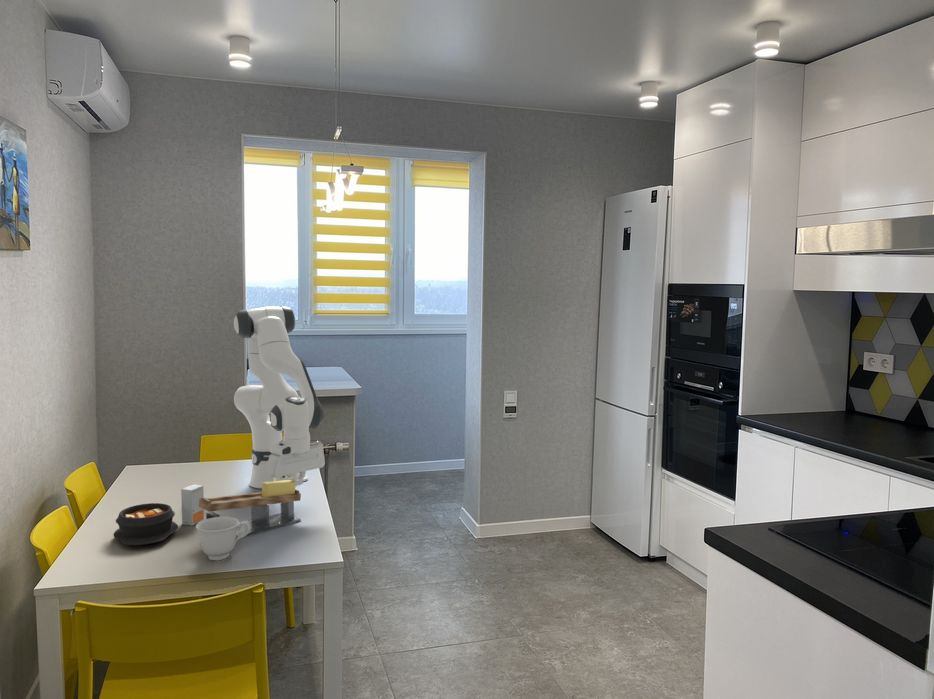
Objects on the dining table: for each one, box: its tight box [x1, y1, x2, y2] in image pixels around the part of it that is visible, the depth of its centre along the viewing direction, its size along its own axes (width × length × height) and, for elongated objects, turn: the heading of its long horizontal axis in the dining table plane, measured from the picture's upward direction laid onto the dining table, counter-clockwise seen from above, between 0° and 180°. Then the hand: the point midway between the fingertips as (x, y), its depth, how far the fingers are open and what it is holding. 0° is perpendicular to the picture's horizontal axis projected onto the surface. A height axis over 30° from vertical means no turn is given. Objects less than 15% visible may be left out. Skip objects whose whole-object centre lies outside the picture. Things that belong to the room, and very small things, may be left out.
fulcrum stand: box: [205, 501, 302, 538], centre depth 232 cm, size 30×10×8 cm, turn 135°
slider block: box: [261, 480, 296, 497], centre depth 238 cm, size 10×4×4 cm, turn 135°
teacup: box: [195, 516, 250, 561], centre depth 209 cm, size 12×15×10 cm
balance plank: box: [199, 488, 302, 512], centre depth 231 cm, size 32×7×3 cm, turn 135°
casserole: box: [113, 502, 179, 546], centre depth 225 cm, size 25×19×8 cm
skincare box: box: [180, 484, 205, 526], centre depth 237 cm, size 6×4×12 cm
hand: (297, 484), depth 243 cm, fingers closed
